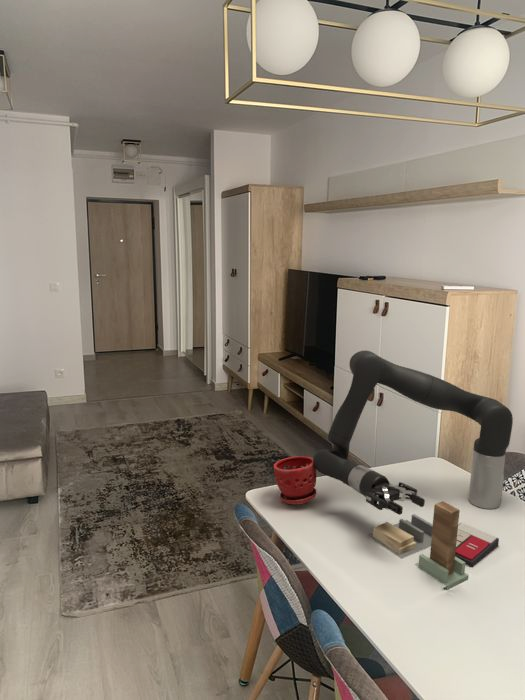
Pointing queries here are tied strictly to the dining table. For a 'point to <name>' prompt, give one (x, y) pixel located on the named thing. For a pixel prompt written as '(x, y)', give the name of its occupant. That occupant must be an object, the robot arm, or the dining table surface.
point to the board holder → (444, 571)
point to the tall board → (444, 535)
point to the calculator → (473, 544)
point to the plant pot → (296, 479)
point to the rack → (414, 528)
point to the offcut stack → (394, 538)
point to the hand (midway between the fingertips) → (412, 507)
